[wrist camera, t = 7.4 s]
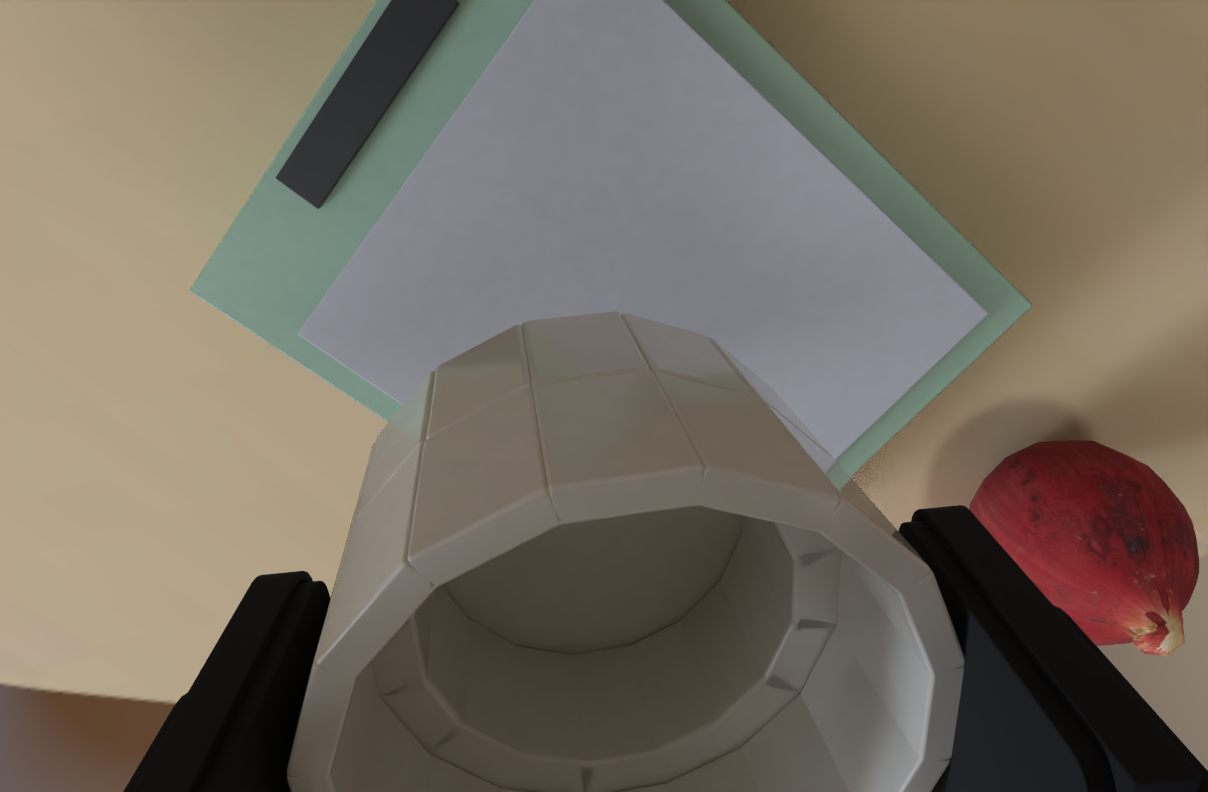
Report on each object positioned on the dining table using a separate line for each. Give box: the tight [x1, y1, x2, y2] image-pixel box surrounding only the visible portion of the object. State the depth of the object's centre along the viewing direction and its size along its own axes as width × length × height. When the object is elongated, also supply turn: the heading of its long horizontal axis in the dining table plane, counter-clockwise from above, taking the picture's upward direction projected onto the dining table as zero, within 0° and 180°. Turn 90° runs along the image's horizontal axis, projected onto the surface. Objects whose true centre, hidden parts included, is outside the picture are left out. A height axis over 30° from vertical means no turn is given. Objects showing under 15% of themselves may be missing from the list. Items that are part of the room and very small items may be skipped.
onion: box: [969, 440, 1199, 656], centre depth 23 cm, size 6×6×8 cm
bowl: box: [286, 311, 965, 792], centre depth 10 cm, size 7×7×5 cm
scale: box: [190, 0, 1032, 477], centre depth 22 cm, size 18×14×3 cm
